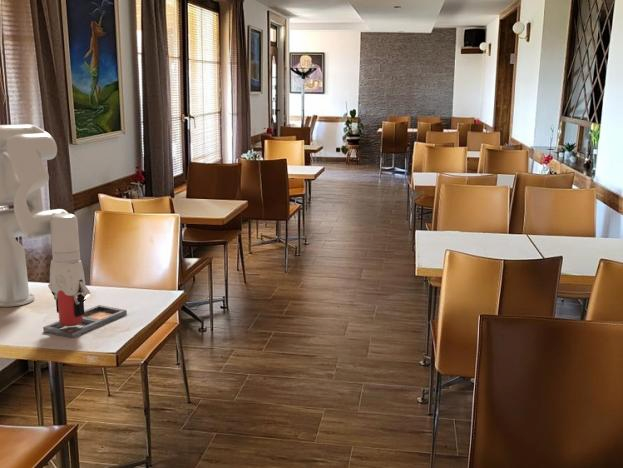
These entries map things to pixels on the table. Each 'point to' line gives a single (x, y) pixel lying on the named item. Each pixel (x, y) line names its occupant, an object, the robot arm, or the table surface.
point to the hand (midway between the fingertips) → (70, 313)
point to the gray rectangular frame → (88, 321)
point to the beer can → (67, 310)
